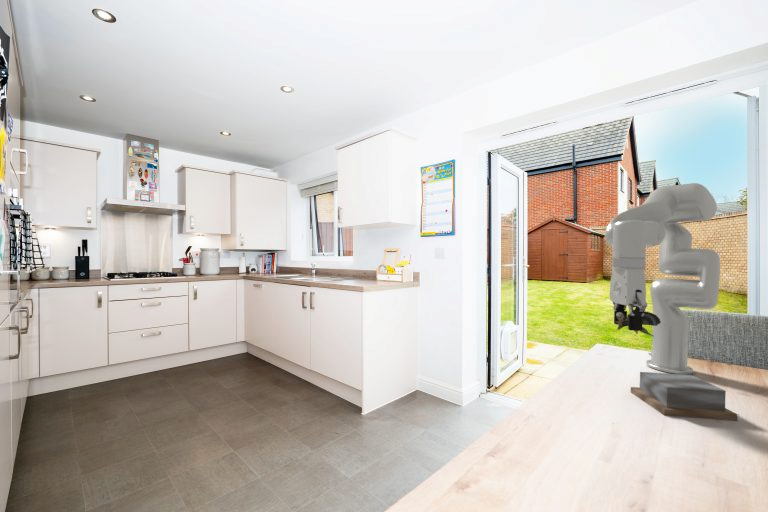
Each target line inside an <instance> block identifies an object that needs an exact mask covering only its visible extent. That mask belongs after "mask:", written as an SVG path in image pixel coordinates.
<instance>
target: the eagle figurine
mask: <svg viewBox="0 0 768 512" xmlns="http://www.w3.org/2000/svg"><path fill="white" fill-rule="evenodd" d="M628 315H630V313H627V317H626V316H625V315H624V314H623V313H621V312H619V313H617V314H616V317H617V318H618V320H619V322H618V321H616V322H617V323H618V324H617V331H620V330H621V329H623V328H625V327H628ZM623 322H625V323H624V324H622V323H623ZM660 323H661V321H660V319H659V318H658V317H657V315H654V314H653V312H650V311H646V310H645V311H644V316H642V331H640V332H641V333H643V334H646V335H649V336H651V337H652V336H653V334H652V333H650V332H649V331H648V330H647V328H645V327H643V326H651V327H653V326H657V325H658V324H660ZM634 333H635V335H638V333H639V331H634ZM653 337H654V336H653Z"/></svg>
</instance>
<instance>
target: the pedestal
mask: <svg viewBox="0 0 768 512" xmlns="http://www.w3.org/2000/svg"><path fill="white" fill-rule="evenodd" d="M630 393H631V394H632V395H634V396H636V397H637V398H638V399H640V400H642V401H643V402H645V403H646V404H647V405H648V406H651V408H653V409H655V410H656V411H657V412H659V413H661V415H664V416H668V417H669V416H670V417H671V416H672V417H684V418H695V419H696V418H697V419H710V420H725V421H738V416H739V415H738V414H737V413H735V412H733V411H732V410H730V409H728V408H726V396H727V395H726V390H725V389H722V388H721V387H718V386H716V385H714V384H712V383H710V382H707V381H705V380H703V379H702V378H699V377H697V376H694V375H692V374H675V373H669V372H663V373H662V372H646V371H639V387H638V386H637V387H636V386H630Z"/></svg>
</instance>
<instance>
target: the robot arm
mask: <svg viewBox="0 0 768 512" xmlns="http://www.w3.org/2000/svg"><path fill="white" fill-rule="evenodd" d="M717 209H718V207H717V202H716V199H715V197H714V196H713V195H712V193H711V192H710V191H709V190H708V188H707V187H705V186H704V185H703V184H701V183H695V182H692V183H690V182H689V183H683V184H677V185H676V184H674V185H667V186H661V187H659V188H656V189H654V190H653V191H652V192H651V193H650V194H649V195H648V196H647V198H646V199H645V201H644V202H643V203H642V204H641V205H637V206H634V207H632V208H630V209H628V210H625V211H623V212H620V213H619V214H618V213H617V215H615V216H614V217H613V218H612V219H611V220H610V222H609V223H608V225H607V227H606V229H605V232H604V239H605V242H606V244H608V245H609V246H611V247H612V271H611V277H610V282H609V283H610V284H609V300H610V301H611V302H612V305H613V324H615V325H618V323H617V322H616V321H618V322H619V320H618V318H617V317H616V314H617V313H619V312H621V313H623V314H624V315H625V316H626V317H627V315H628V312H629V314H630V315H628V326H627V328H628V330H629V331H632V332H635V331H638V332H641V331H642V327H643V325H642V316H644V312H645V311H646V308H647V307H648V302H647V301H646V300H647V298H646V297H647V288H646V287H647V286H646V285H647V283H646V282H647V281H646V276H645V275H646V274H645V271H646V258H647V257H646V255H647V254H646V249H647V247H650V248H651V247H655V246H659V253H658V269H659V272H661V274H664V275H668V276H676V277H677V276H678V277H697V278H699V279H686V278H669V277H667V278H658V279H655V280H653V282H651V284H650V287H649V291H650V293H649V295H650V299H651V304H652V314H654V315H657V317H658V318H659V319H660V321H661V323H660V324H658V325H657V326H652V335H653V336H654V337H653V336H651V337H652V338H651V339H652V340H651V341H652V342H651V343H652V345H651V349H652V350H651V351H649V352H648V355H649V356H651V359H648V360H646V362H645V363H646V366H647V367H649V368H651V369H653V370H658V371H660V372H663V373H668V374H685V375H692V374H693V373H694V369H693V368H692V367H691V366H689V365H688V355H689V354H688V350H689V348H688V344H689V343H688V342H689V319H688V317H687V315H686V314H685V313H684V311H682V310H681V308H687V309H688V308H689V309H698V310H712V309H714V308H716V306H717V304H718V301H719V295H720V294H719V291H720V279H721V278H720V276H721V259H720V256H719V253H718V252H717V251H715V250H713V249H709V248H692V244H693V236H692V233H691V232H690V231H689V229H687V228H686V227H685V226H683V225H682V224H681V223H688V222H689V223H691V222H705V221H706V222H707V221H710V220H711V219H713V218H714V217H715V216H716V213H717ZM627 307H628V310H629V311H627ZM624 323H625V322H623V323H622V324H624Z"/></svg>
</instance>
